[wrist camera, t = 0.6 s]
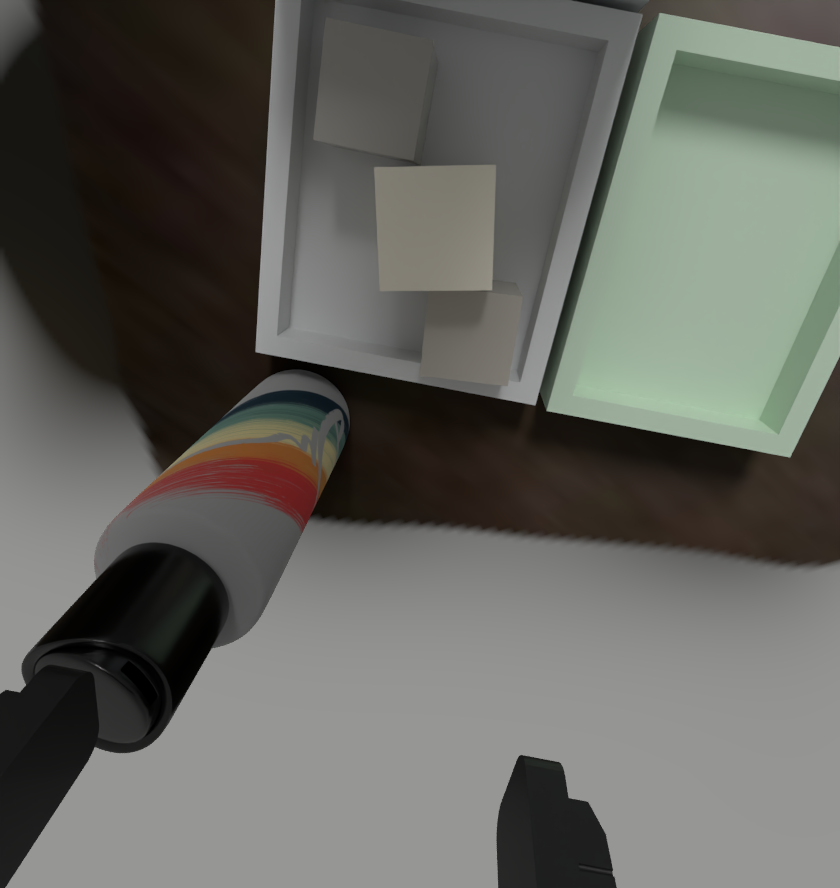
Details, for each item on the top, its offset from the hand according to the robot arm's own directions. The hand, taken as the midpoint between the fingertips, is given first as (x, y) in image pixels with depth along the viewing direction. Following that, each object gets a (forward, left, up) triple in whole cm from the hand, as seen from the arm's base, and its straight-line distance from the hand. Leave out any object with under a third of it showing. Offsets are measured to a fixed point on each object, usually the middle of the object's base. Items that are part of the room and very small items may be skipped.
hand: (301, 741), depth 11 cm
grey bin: (-9, -1, -22) cm, 24 cm away
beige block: (-8, 0, -22) cm, 23 cm away
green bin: (-9, +13, -22) cm, 27 cm away
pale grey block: (-4, +2, -22) cm, 22 cm away
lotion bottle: (+3, -6, -22) cm, 23 cm away
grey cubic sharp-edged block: (-13, -3, -22) cm, 25 cm away
